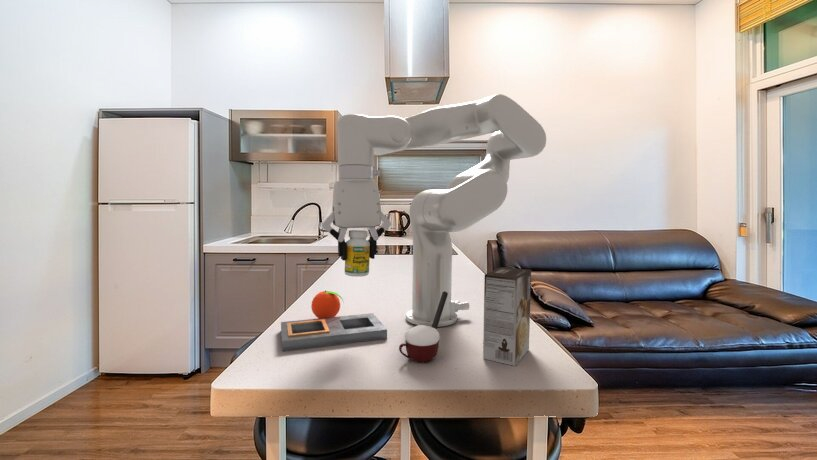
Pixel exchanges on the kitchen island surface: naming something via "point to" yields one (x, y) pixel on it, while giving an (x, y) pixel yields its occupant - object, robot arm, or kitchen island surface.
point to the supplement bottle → (357, 254)
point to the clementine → (326, 304)
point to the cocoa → (424, 338)
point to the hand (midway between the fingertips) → (357, 257)
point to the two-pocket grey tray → (331, 331)
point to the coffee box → (506, 315)
